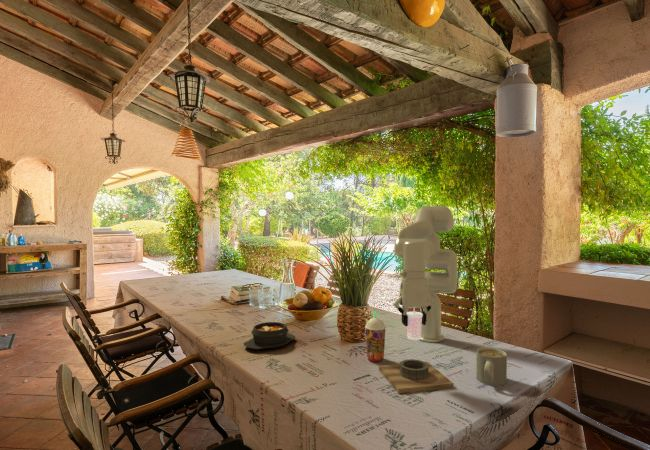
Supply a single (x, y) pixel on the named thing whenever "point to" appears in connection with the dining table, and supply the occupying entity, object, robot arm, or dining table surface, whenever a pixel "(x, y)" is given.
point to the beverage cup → (414, 325)
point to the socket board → (414, 384)
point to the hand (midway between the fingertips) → (414, 324)
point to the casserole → (269, 336)
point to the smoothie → (375, 339)
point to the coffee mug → (491, 366)
